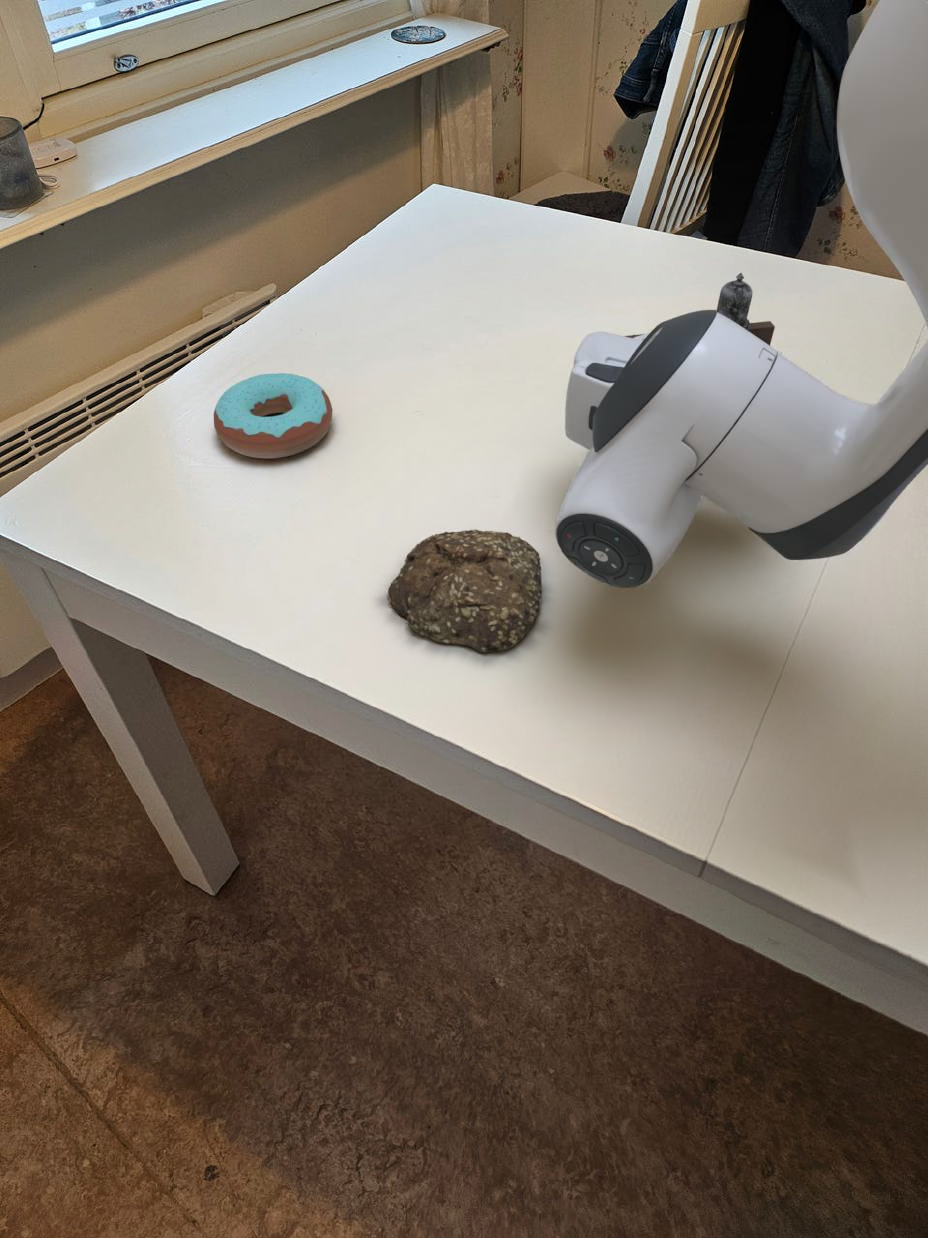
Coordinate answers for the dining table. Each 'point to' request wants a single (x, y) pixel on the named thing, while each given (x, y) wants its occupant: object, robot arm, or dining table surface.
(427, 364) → the dining table surface
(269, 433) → the donut
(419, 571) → the bread roll
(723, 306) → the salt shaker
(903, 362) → the dining table surface
